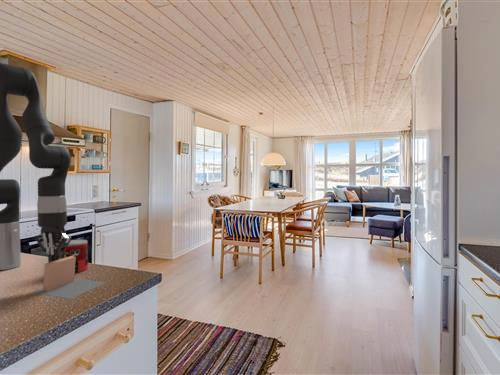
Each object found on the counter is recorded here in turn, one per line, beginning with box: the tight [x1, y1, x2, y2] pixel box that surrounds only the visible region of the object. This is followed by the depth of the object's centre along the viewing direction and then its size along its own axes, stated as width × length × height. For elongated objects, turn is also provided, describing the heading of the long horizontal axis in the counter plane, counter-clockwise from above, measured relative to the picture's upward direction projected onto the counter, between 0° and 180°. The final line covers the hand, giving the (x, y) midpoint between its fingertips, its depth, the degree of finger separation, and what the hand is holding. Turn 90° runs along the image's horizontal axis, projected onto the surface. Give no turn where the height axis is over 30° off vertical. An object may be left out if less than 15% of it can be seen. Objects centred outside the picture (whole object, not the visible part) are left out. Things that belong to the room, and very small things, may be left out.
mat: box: [31, 277, 106, 300], centre depth 91 cm, size 15×13×1 cm
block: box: [42, 256, 76, 291], centre depth 92 cm, size 2×9×8 cm, turn 163°
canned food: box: [61, 239, 89, 274], centre depth 107 cm, size 8×8×11 cm
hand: (54, 265), depth 92 cm, fingers closed
